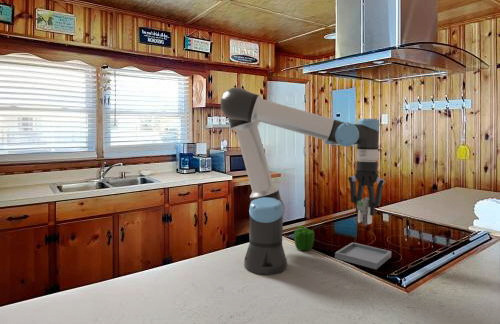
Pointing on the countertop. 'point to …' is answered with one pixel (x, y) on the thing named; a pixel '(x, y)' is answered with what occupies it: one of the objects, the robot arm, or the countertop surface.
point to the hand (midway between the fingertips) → (364, 222)
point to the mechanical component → (364, 208)
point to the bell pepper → (304, 238)
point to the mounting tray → (363, 255)
